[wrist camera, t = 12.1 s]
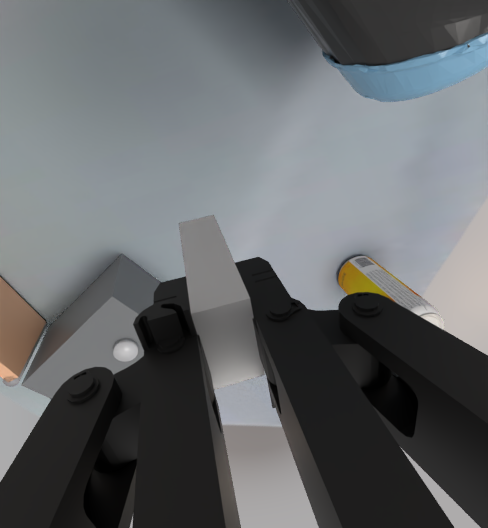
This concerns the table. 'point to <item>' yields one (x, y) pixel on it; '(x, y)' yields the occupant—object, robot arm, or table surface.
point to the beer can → (384, 287)
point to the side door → (16, 334)
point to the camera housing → (95, 328)
